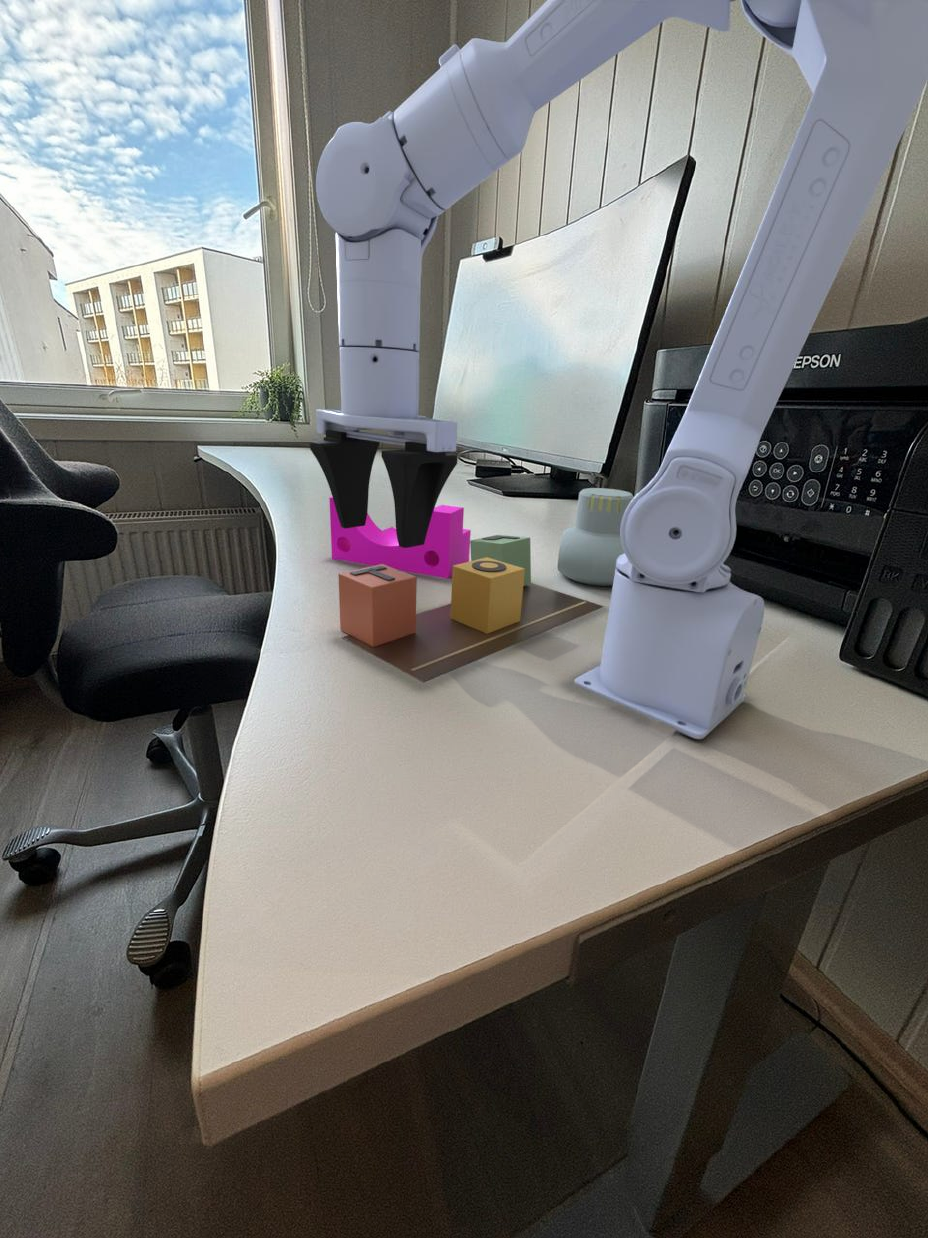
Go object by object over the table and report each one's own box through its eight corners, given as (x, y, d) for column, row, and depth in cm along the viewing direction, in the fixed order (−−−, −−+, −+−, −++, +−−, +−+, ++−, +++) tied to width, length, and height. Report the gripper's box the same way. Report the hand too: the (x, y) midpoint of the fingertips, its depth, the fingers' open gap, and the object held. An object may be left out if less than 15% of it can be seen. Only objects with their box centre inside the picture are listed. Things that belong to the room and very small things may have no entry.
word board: (603, 609, 56) (603, 605, 56) (423, 686, 40) (423, 681, 40) (524, 584, 62) (524, 580, 62) (341, 641, 46) (341, 636, 46)
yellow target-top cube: (520, 621, 51) (525, 566, 49) (487, 634, 48) (491, 576, 46) (483, 607, 54) (487, 555, 52) (450, 618, 51) (452, 563, 49)
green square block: (531, 583, 61) (530, 536, 59) (504, 592, 58) (502, 542, 56) (499, 578, 64) (498, 533, 62) (472, 586, 61) (469, 539, 59)
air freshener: (563, 562, 71) (572, 482, 67) (630, 570, 69) (644, 488, 66) (553, 589, 61) (564, 496, 58) (632, 599, 59) (648, 503, 56)
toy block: (468, 567, 67) (472, 504, 65) (447, 581, 62) (450, 513, 59) (360, 549, 72) (358, 490, 70) (332, 561, 67) (329, 497, 64)
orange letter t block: (416, 633, 47) (417, 575, 46) (373, 647, 44) (372, 586, 42) (382, 617, 50) (382, 562, 48) (340, 630, 47) (337, 571, 45)
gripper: (491, 354, 39) (479, 546, 44) (364, 355, 48) (366, 514, 53) (414, 345, 34) (410, 562, 39) (289, 347, 43) (299, 523, 48)
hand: (380, 535), depth 46 cm, fingers open, 7 cm apart
